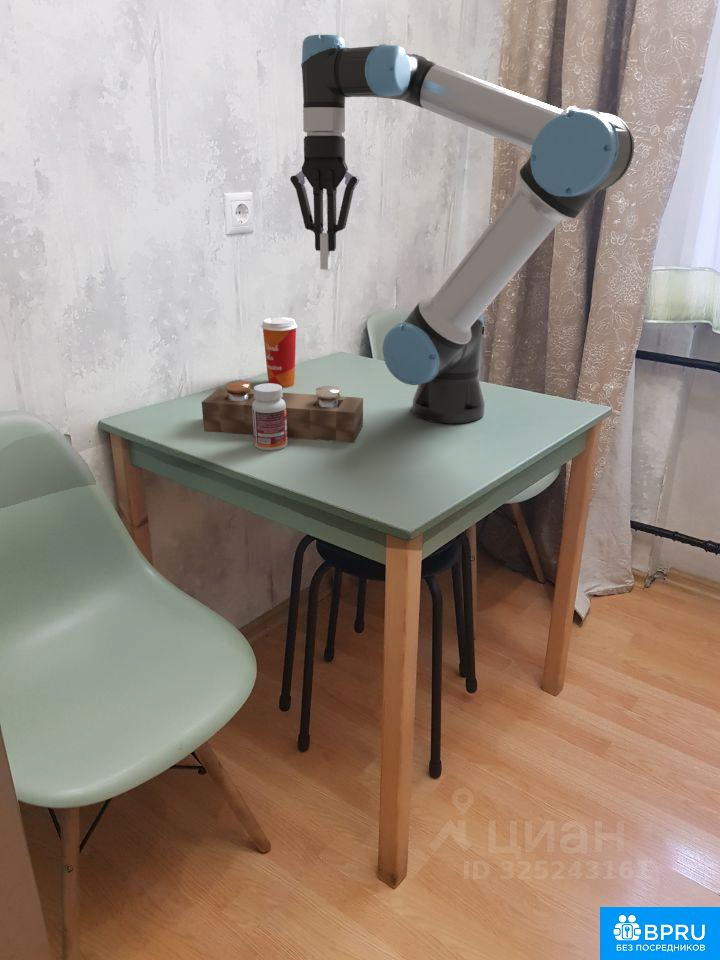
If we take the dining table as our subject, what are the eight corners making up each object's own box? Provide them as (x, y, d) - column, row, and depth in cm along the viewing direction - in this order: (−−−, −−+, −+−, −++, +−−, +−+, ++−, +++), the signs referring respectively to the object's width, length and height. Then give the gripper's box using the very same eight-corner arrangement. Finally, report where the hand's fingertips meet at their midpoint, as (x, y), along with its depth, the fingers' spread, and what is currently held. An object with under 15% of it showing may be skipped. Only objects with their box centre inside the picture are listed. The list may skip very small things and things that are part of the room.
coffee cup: (259, 381, 175) (256, 318, 169) (292, 377, 178) (290, 315, 172) (270, 391, 168) (267, 325, 162) (304, 387, 171) (302, 322, 165)
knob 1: (255, 414, 148) (253, 381, 145) (247, 422, 144) (245, 387, 141) (233, 413, 149) (231, 379, 146) (225, 420, 145) (222, 386, 142)
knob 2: (342, 420, 145) (342, 386, 142) (337, 428, 141) (337, 393, 138) (319, 419, 146) (319, 385, 143) (314, 427, 142) (313, 392, 139)
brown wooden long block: (362, 426, 147) (363, 397, 145) (354, 442, 139) (354, 412, 137) (220, 416, 152) (218, 388, 150) (204, 431, 144) (201, 402, 142)
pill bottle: (293, 447, 137) (291, 388, 132) (263, 454, 134) (260, 394, 129) (277, 437, 142) (275, 380, 137) (248, 443, 139) (245, 385, 134)
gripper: (363, 135, 136) (362, 266, 146) (295, 134, 138) (298, 264, 148) (355, 134, 129) (354, 272, 139) (283, 134, 131) (288, 270, 141)
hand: (325, 268), depth 143 cm, fingers closed
